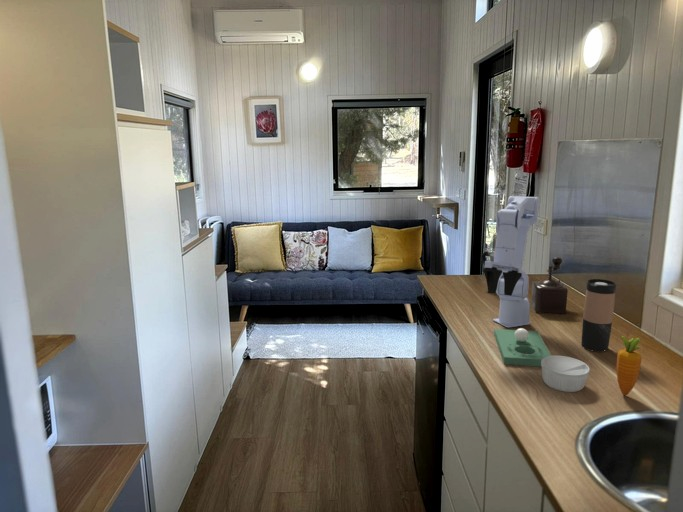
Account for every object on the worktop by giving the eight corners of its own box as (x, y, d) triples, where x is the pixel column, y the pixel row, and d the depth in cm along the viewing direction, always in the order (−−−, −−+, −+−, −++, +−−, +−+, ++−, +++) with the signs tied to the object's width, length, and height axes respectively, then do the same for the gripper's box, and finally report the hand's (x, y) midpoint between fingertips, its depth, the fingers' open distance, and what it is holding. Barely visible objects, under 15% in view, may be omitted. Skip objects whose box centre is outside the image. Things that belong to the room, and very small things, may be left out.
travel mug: (606, 343, 149) (614, 280, 144) (611, 353, 142) (619, 286, 137) (578, 340, 151) (585, 278, 147) (581, 350, 144) (588, 284, 140)
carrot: (608, 391, 120) (615, 333, 117) (627, 390, 120) (634, 332, 117) (621, 401, 115) (628, 341, 112) (641, 400, 116) (649, 340, 112)
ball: (522, 338, 148) (522, 325, 148) (531, 342, 145) (532, 330, 144) (511, 339, 147) (511, 327, 146) (520, 344, 143) (521, 331, 143)
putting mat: (494, 334, 157) (494, 328, 156) (537, 337, 154) (537, 331, 154) (503, 363, 136) (504, 357, 135) (553, 367, 133) (554, 360, 133)
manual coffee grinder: (568, 314, 175) (573, 265, 171) (535, 313, 177) (539, 264, 173) (558, 301, 190) (562, 256, 186) (528, 300, 192) (531, 255, 188)
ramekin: (585, 399, 117) (587, 378, 115) (535, 387, 122) (537, 367, 121) (590, 380, 126) (592, 361, 125) (543, 370, 132) (545, 352, 131)
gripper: (501, 246, 139) (495, 294, 139) (531, 252, 147) (526, 297, 147) (481, 245, 145) (475, 291, 145) (511, 251, 153) (506, 294, 153)
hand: (499, 294), depth 146 cm, fingers open, 7 cm apart
